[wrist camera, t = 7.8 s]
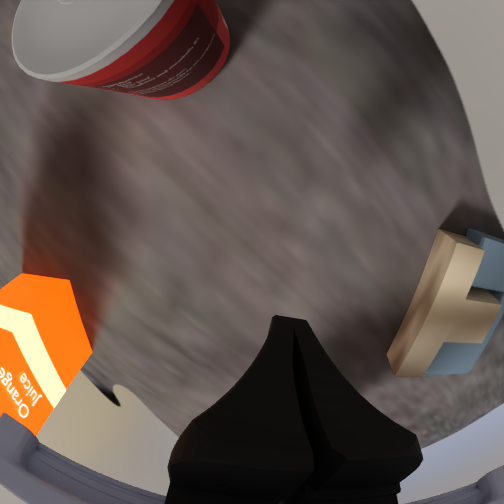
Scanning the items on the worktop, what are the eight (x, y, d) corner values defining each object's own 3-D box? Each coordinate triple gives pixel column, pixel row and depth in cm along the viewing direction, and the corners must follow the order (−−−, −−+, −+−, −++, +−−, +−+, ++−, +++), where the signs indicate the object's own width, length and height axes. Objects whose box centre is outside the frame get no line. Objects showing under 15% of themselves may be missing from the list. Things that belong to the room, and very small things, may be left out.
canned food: (146, -2, 14) (59, -67, 3) (250, 15, 14) (222, -88, 4) (108, 89, 16) (-11, 77, 6) (208, 114, 17) (123, 94, 7)
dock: (460, 361, 23) (468, 373, 21) (409, 360, 23) (416, 375, 21) (516, 244, 18) (528, 252, 16) (468, 227, 18) (481, 236, 16)
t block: (449, 356, 23) (460, 376, 20) (386, 353, 23) (394, 376, 20) (501, 247, 18) (520, 261, 15) (437, 228, 18) (457, 242, 16)
